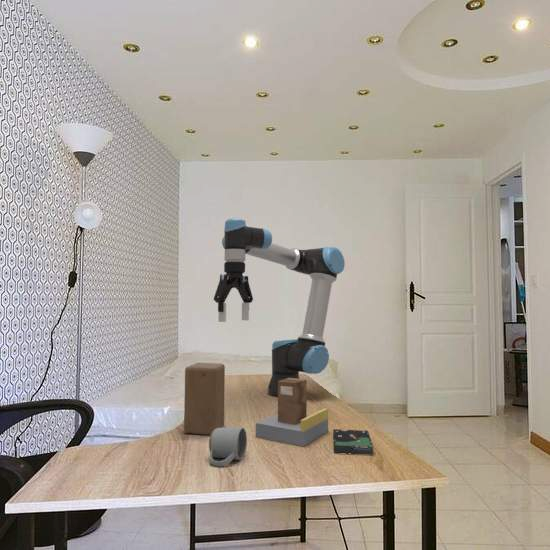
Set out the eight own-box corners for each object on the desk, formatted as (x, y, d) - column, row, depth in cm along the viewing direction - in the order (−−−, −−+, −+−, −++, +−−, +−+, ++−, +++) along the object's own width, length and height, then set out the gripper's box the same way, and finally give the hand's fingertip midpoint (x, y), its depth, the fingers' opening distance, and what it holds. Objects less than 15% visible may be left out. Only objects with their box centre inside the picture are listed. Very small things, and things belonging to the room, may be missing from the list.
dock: (283, 423, 142) (283, 402, 142) (328, 431, 133) (328, 408, 134) (255, 436, 128) (255, 412, 129) (303, 446, 120) (303, 420, 120)
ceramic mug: (218, 451, 116) (218, 421, 116) (247, 453, 114) (247, 424, 114) (201, 466, 106) (202, 434, 106) (233, 469, 104) (233, 436, 104)
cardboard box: (289, 416, 136) (289, 377, 136) (306, 419, 133) (306, 379, 133) (277, 421, 130) (277, 381, 130) (295, 425, 126) (295, 383, 127)
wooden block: (214, 436, 129) (215, 367, 130) (182, 434, 131) (183, 366, 132) (225, 426, 138) (225, 363, 140) (195, 424, 140) (196, 362, 142)
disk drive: (332, 438, 129) (333, 455, 114) (332, 428, 129) (333, 444, 115) (368, 440, 128) (374, 457, 113) (368, 430, 128) (373, 445, 113)
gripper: (246, 264, 169) (245, 319, 168) (203, 259, 148) (202, 322, 147) (262, 264, 165) (262, 320, 164) (221, 258, 144) (220, 322, 143)
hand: (234, 321), depth 155 cm, fingers open, 13 cm apart
